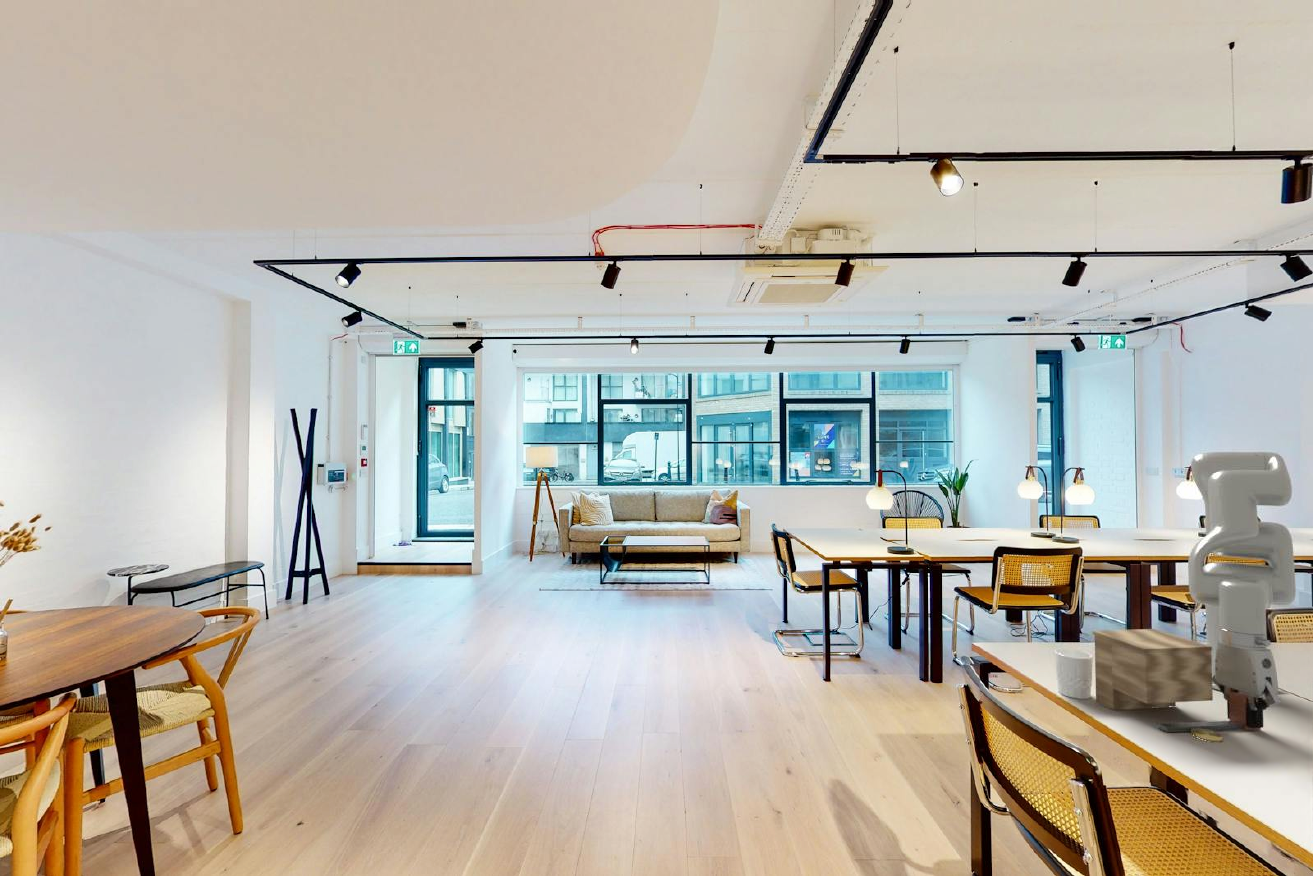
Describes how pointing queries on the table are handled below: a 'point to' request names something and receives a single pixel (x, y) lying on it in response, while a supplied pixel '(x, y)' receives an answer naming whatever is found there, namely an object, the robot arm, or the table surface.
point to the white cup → (1074, 673)
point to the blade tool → (1236, 721)
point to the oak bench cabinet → (1150, 669)
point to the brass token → (1207, 734)
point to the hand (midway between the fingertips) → (1245, 722)
